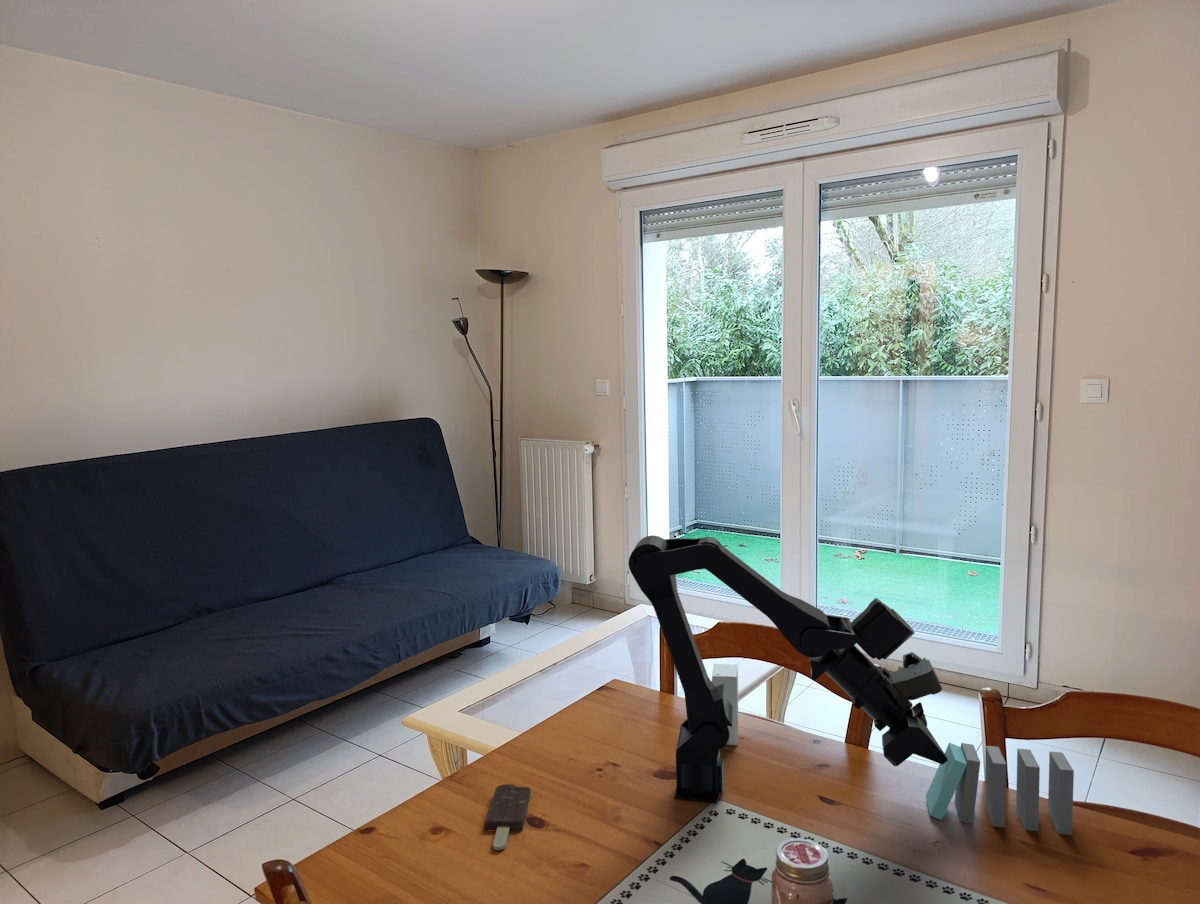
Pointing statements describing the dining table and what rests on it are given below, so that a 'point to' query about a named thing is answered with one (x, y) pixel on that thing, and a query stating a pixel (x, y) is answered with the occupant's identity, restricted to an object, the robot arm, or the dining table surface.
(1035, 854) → the dining table surface
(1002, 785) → the domino
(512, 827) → the ice cream bar
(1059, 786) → the domino
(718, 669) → the skincare box
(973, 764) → the domino
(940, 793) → the placed domino
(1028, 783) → the domino
